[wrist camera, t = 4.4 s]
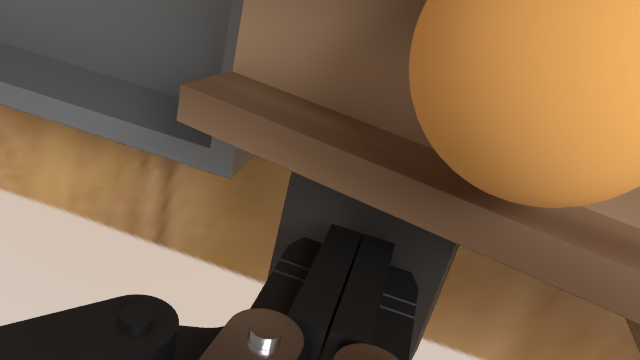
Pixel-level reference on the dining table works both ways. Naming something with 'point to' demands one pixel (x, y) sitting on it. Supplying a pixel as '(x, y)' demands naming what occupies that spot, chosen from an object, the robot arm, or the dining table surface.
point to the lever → (391, 157)
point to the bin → (121, 69)
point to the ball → (532, 96)
